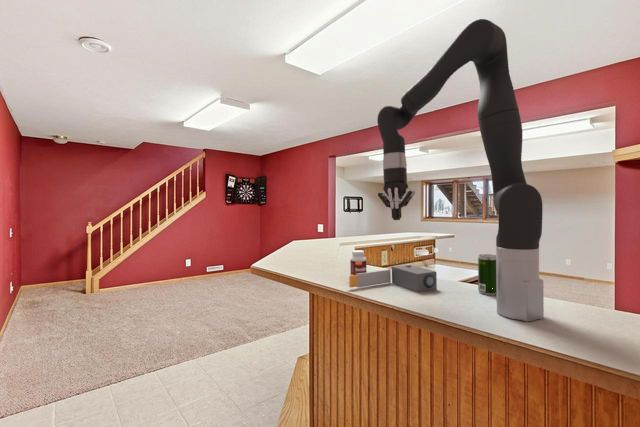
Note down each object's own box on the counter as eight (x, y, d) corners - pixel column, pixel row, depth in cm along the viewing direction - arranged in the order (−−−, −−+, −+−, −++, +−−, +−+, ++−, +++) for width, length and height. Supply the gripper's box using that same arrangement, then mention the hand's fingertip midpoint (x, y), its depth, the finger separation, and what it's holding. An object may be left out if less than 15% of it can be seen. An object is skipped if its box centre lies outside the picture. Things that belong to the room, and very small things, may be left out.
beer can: (491, 296, 96) (491, 257, 96) (474, 292, 101) (474, 255, 100) (500, 293, 99) (500, 255, 99) (484, 289, 104) (483, 253, 103)
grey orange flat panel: (350, 288, 107) (350, 275, 107) (348, 287, 108) (348, 274, 108) (392, 282, 115) (391, 269, 115) (389, 281, 116) (389, 268, 116)
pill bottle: (355, 282, 118) (354, 252, 118) (347, 278, 124) (347, 250, 123) (369, 280, 120) (369, 251, 120) (361, 277, 126) (361, 249, 126)
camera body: (437, 289, 105) (437, 270, 105) (418, 292, 102) (418, 272, 102) (409, 280, 118) (409, 263, 118) (391, 282, 115) (391, 265, 115)
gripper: (371, 169, 106) (373, 220, 107) (408, 164, 97) (410, 220, 98) (383, 170, 112) (385, 219, 112) (418, 166, 103) (420, 219, 103)
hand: (396, 220), depth 105 cm, fingers closed
